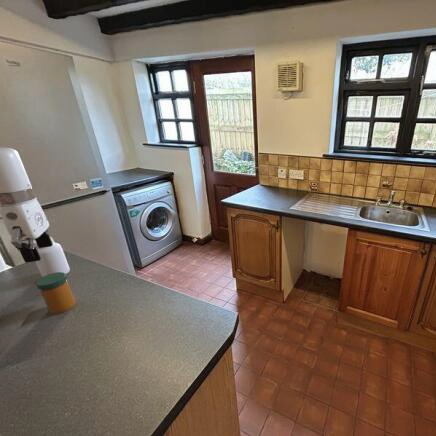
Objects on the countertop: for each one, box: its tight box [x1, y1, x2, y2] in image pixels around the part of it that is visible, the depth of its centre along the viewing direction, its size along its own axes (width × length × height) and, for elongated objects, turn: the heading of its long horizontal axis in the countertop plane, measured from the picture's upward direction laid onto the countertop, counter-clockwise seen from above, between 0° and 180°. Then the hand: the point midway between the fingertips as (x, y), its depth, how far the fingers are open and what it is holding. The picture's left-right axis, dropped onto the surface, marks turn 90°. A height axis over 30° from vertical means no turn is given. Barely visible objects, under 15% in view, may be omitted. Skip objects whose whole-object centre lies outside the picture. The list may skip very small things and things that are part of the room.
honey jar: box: [39, 280, 77, 315], centre depth 76 cm, size 6×6×11 cm
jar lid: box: [35, 272, 68, 291], centre depth 74 cm, size 7×7×2 cm
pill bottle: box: [33, 236, 71, 278], centre depth 91 cm, size 8×8×15 cm
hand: (40, 253), depth 71 cm, fingers open, 8 cm apart
